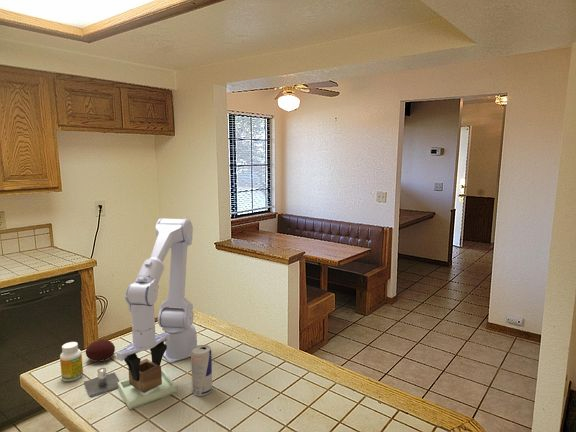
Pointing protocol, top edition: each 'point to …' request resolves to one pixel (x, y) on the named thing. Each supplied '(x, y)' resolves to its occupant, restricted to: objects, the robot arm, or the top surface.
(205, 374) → the energy drink
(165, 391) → the tray
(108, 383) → the light stand
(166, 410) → the top surface
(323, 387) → the top surface
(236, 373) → the top surface
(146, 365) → the brown wooden box
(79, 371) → the supplement bottle
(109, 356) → the potato
